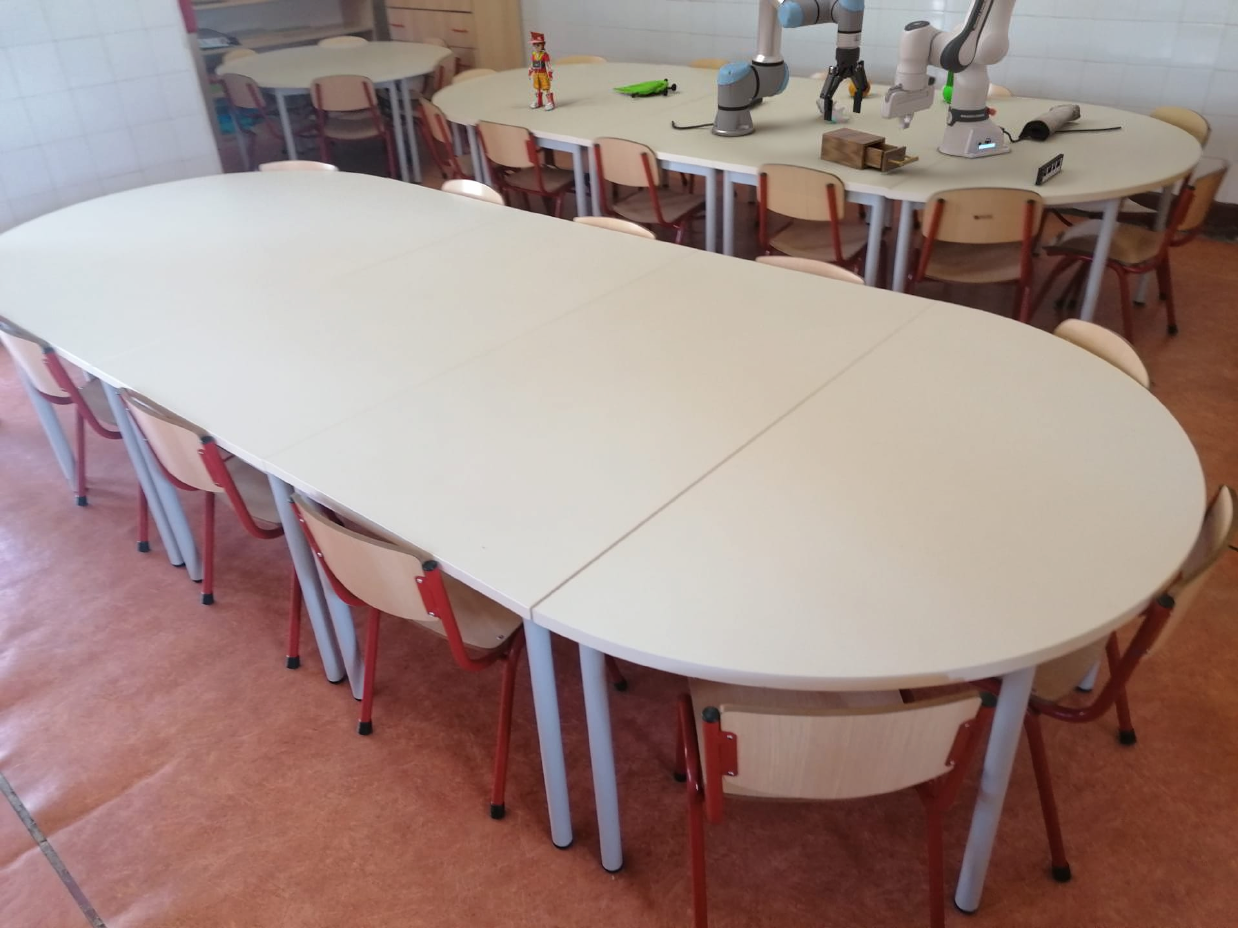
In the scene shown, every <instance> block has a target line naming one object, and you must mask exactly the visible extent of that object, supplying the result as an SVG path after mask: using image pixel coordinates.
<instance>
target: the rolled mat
mask: <svg viewBox="0 0 1238 928" xmlns="http://www.w3.org/2000/svg"><path fill="white" fill-rule="evenodd" d="M1081 116H1082V115H1081V107H1080V105H1078V104H1072V103H1067V104H1061V105H1054V106H1052V107H1050V108H1049V110H1048V111H1047V112H1045V113H1043V114H1041V115H1038V116H1036V117H1035V118H1033V119H1031V120H1030V121H1028V122H1026V123H1025V124H1024V125H1023V127H1022V129H1021V131H1020V133H1019V135H1018V137H1017V138H1018V139H1020V138H1021V137H1024V136H1028V137H1027V138H1030V139H1032V140H1033V141H1038V142H1045V141H1047V140H1048V139H1049V138H1050V137H1051V136H1053V135H1054V134H1055V133H1054V132H1055V131H1057V130H1059V129H1060V128H1061V127H1062V126H1064V125H1065V124H1066V123H1068V122H1074V121H1077V120H1079V119H1080V118H1081ZM1018 139H1017V140H1018Z"/></svg>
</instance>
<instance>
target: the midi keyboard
mask: <svg viewBox="0 0 1238 928" xmlns="http://www.w3.org/2000/svg"><path fill="white" fill-rule="evenodd" d="M1064 157H1065V153H1059V154H1058V155H1056V156H1055V157H1052V159H1051V160H1049V161H1047V162H1045V164H1042V165H1041V166H1039V167H1038V169H1037V175H1036V179H1035V186H1040V185H1042V183H1044V182H1045V181H1047V180H1048V179H1049V178H1051V177H1052V176H1054V175H1055V174H1056V173H1058V172H1060V171H1061V170H1062V165H1063V161H1064Z"/></svg>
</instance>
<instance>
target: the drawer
mask: <svg viewBox="0 0 1238 928" xmlns="http://www.w3.org/2000/svg"><path fill="white" fill-rule="evenodd" d="M919 160H920V158H919V156H912V155H907V146H905V145H902V146H899V147H898V146H897V145H893V144H890V143H886V142H885V143H881V142H879V143H876V144H872V145H869V146H865V153H864V162H863V164H866V165H869V166H870V167H874V168H877V169H881V172H882V173H887V172H889V171H892V170H895V169H899V168H902V167H904V166H906V165H909V164H913V163H915V162H918V161H919Z"/></svg>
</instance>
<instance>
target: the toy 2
mask: <svg viewBox="0 0 1238 928" xmlns="http://www.w3.org/2000/svg"><path fill="white" fill-rule="evenodd" d="M669 85H670V83H669V79H668V78H664V79H663V80H649V81H644V82H640V83H634V84H629V85H627V86H621V87H613V88H612V89H613V90H616V91H619V92H623V93H627V94H628V93H629V94H631V95H630V96H631V98H632V99H634V98H636V96H637V95H650V94H652V93H654V94H658V93H662V95H663V96H665V97H667V96H668V95H669V90H671V91H672V92H676V91H677V84H676V83H672V84H671V86H669Z"/></svg>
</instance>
